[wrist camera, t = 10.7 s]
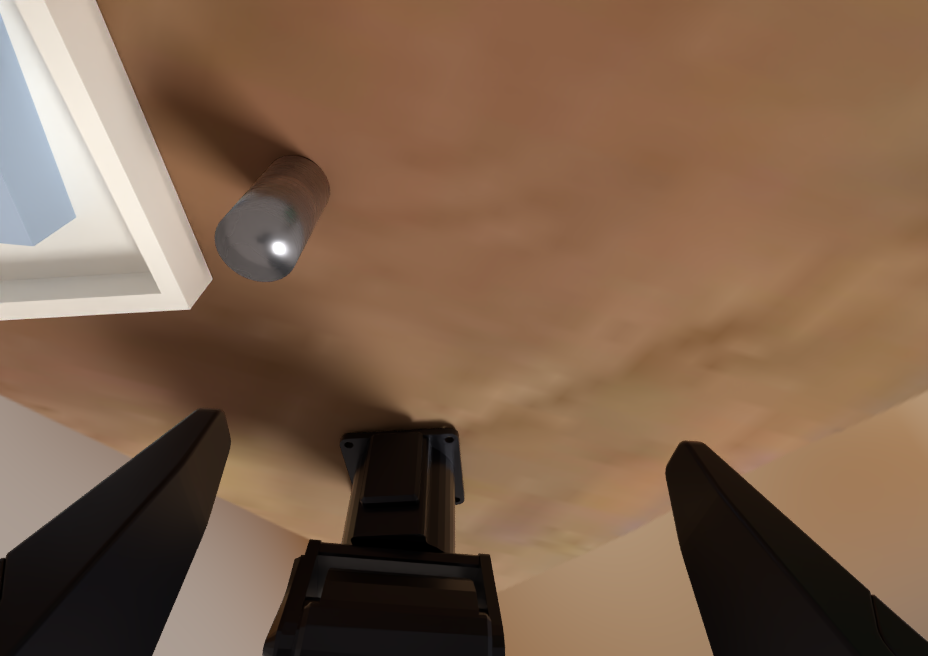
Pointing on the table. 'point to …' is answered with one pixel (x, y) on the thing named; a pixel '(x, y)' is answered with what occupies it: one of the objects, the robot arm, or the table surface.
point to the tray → (95, 180)
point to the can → (273, 220)
